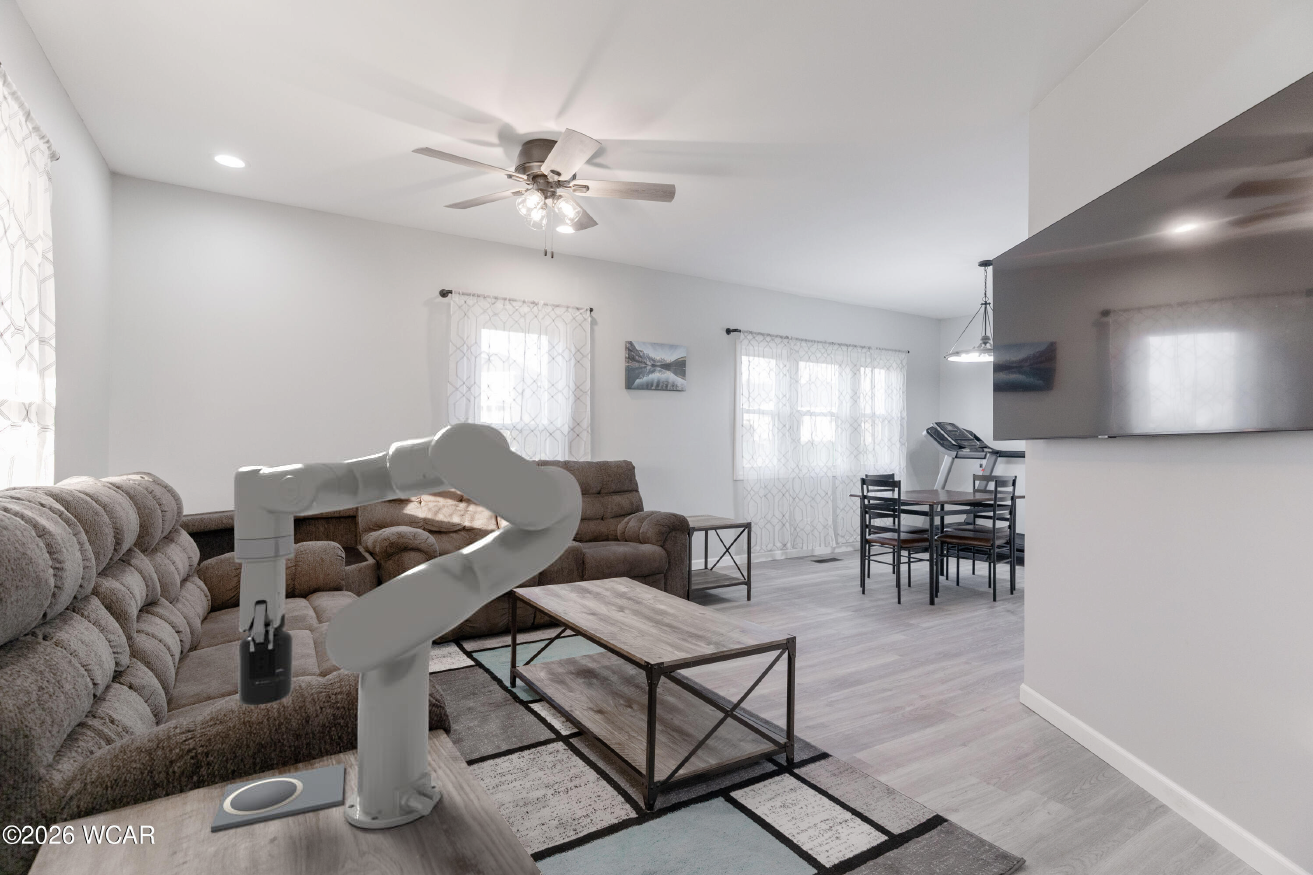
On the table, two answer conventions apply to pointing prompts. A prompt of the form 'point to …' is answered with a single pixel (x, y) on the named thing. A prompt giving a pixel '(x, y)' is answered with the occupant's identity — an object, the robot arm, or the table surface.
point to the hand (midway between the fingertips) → (266, 668)
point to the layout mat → (280, 796)
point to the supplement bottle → (271, 686)
